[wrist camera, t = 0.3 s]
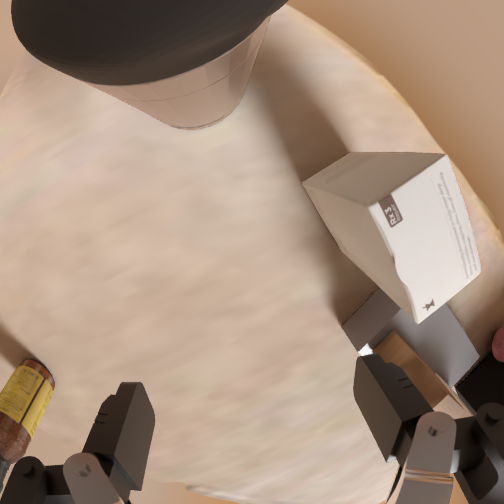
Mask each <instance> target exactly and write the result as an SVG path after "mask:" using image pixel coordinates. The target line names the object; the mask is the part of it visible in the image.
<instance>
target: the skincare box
mask: <svg viewBox="0 0 504 504" xmlns="http://www.w3.org/2000/svg"><path fill="white" fill-rule="evenodd" d="M302 185H303V187H304V189H305V190H306V192H307V194H308V196H309V197H310V199H311V201H312V202H313V204H314V206H315V207H316V209H317V211H318V213H319V214H320V216H321V218H322V219H323V221H324V223H325V225H326V226H327V228H328V230H329V231H330V233H331V235H332V236H333V237H334V239H335V241H336V243H337V245H338V247H339V249H340V250H341V251H342V252H343V253H344V254H345V255H346V256H347V257H348V258H349V259H350V260H351V261H352V262H354V263H355V264H356V265H357V266H358V267H359V268H360V269H361V270H362V271H363V272H364V273H365V274H366V275H367V276H368V277H369V278H370V279H372V280H373V281H374V282H375V283H376V284H377V285H378V286H379V287H380V288H381V289H382V290H383V291H384V292H385V293H386V294H387V295H388V296H389V297H390V298H391V299H392V300H393V301H394V302H395V303H396V304H397V305H398V306H399V307H400V308H401V309H402V310H403V311H404V312H405V313H406V314H407V315H408V316H409V317H410V318H411V319H412V320H413V321H414V322H415V323H417V324H419V323H421V322H422V321H423V320H424V319H425V318H427V317H428V316H429V315H430V314H432V313H433V312H434V311H436V310H437V309H438V308H439V307H441V306H442V305H443V304H444V303H446V302H447V301H448V300H449V299H450V298H451V297H453V296H454V295H455V294H456V293H457V292H459V291H460V290H461V289H462V288H463V287H465V286H466V285H467V284H468V283H469V282H471V281H472V280H473V279H474V278H475V277H476V276H477V275H478V274H479V273H480V272H481V264H480V259H479V255H478V251H477V246H476V242H475V238H474V234H473V231H472V227H471V223H470V220H469V216H468V213H467V209H466V206H465V203H464V200H463V197H462V194H461V191H460V188H459V185H458V182H457V179H456V177H455V174H454V171H453V169H452V166H451V163H450V161H449V158H448V156H447V154H438V153H416V152H351V153H348V154H347V155H345V156H343V157H342V158H340V159H339V160H337V161H335V162H334V163H332V164H331V165H329V166H327V167H326V168H324V169H322V170H321V171H319V172H318V173H316V174H314V175H313V176H311V177H310V178H308V179H306V180H305V181H303V182H302Z"/></svg>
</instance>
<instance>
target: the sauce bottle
mask: <svg viewBox="0 0 504 504" xmlns="http://www.w3.org/2000/svg"><path fill="white" fill-rule="evenodd" d="M54 387H55V382H54V380H53V378H52V376H51V375H50V373H49V372H48V370H47V369H46V368H45V367H44V366H42V365H41V364H39V363H38V362H36V361H34V360H24V361H22V362H21V364H20V365H19V366H18V367H17V368H16V370H15V371H14V372H13V374H12V376H11V377H10V379H9V380H8V382H7V383H6V385H5V387H4V388H3V390H2V391H1V393H0V493H1V491H2V489H3V481H4V478H5V476H6V473H7V471H8V470H9V467H10V465H11V464H13V463H15V462H17V461H18V460H20V459H21V458H22V457H23V456H24V454H25V453H26V449H27V447H28V445H29V442H30V441H31V440H32V437H33V435H34V433H35V431H36V428H37V426H38V424H39V422H40V420H41V417H42V415H43V413H44V411H45V409H46V407H47V405H48V403H49V401H50V399H51V397H52V394H53V390H54Z"/></svg>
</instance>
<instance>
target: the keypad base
mask: <svg viewBox="0 0 504 504" xmlns="http://www.w3.org/2000/svg"><path fill="white" fill-rule="evenodd" d="M341 327H342V329H343V330H344V332H345V333H346V335H347V336H348V338H349V339H350V341H351V342H352V344H353V346H354V347H355V349H356V350H357V352H358V353H359V354H361V355H362V356H364V355H368V354H373V352H372V351H373V350H374V349H375V348H376V347H377V346H378V345H379V344H380V343H381V342H382V341H383V340H384V339H385V338H386V337H387V336H388V335H389V334H390V333H391V332H392V331H393V330H394V331H395V332H396V333H397V334H398V335H399V336H400V337H401V338H402V339H403V340H404V341H405V342H406V343H407V344H408V345H409V346H410V347H411V348H412V349H413V350H414V351H415V352H416V353H417V354H418V355H419V356H420V357H421V358H422V359H423V361H424V362H425V363H426V364H427V365H428V366H429V368H430V369H431V370H432V371H433V372H434V373H435V374H436V373H437V374H438V375H439V376H440V377H441V378H442V379H443V380H444V381H445V382H446V383H447V384H448V385H449V386H450V387H451V388H452V387H453V386H454V385H455V384H456V383H457V382H458V381H459V379H460V378H461V377H462V376H463V375H464V374H465V373H466V372H467V371H468V370H469V369H470V368H471V367H472V365H473V364H474V363H475V362H476V361H477V360H478V359H479V357H480V356H479V354H478V353H477V351H476V349H475V348H474V346H473V344H472V343H471V341H470V339H469V338H468V336H467V335H466V333H465V331H464V330H463V328H462V327H461V325H460V324H459V322H458V321H457V319H456V317H455V316H454V314H453V313H452V311H451V310H450V309H449V307H448V306H447V304H446V303H444V304H443V305H442V306H441V307H439V308H438V309H437V310H436V311H434V312H433V313H432V314H430V315H429V316H428V317H427V318H425V319H424V320H423V321H422V322H421V323H419V324H417V323H415V322H414V321H413V320H412V319H411V318H410V317H409V316H408V315H407V314H406V313H405V312H404V311H403V310H402V309H401V308H400V307H399V306H398V305H397V304H396V303H395V302H394V301H393V300H392V299H391V298H390V297H389V296H388V295H387V294H386V293H385V292H384V291H383V290H382V289H381V288H380V287H379V288H378V289H377V290H376V291H375V292H374V293H373V295H372V296H371V297H370V298H369V299H368V300H367V301H366V302H365V303H364V304H363V305H362V306H361V307H360V308H359V309H358V310H357V311H356V312H355V313H354V314H353V315H352V316H351V317H350V318H349V319H348V320H347V321H346V322H345V323H344V324H343V325H342V326H341Z"/></svg>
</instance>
